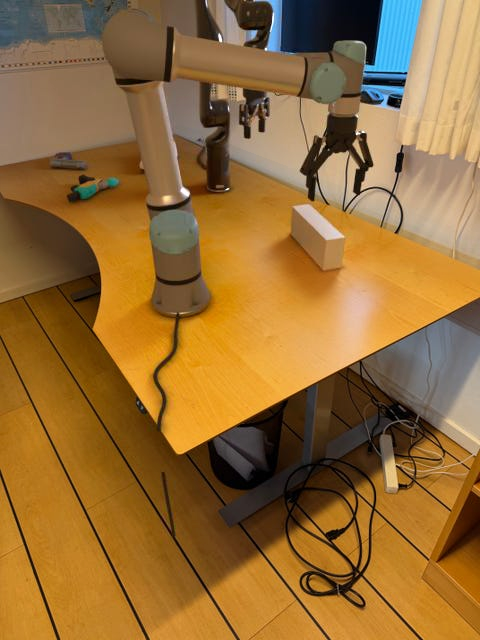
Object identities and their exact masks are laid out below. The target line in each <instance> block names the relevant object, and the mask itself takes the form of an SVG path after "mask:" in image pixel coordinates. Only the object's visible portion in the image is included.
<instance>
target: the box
mask: <svg viewBox="0 0 480 640" xmlns="http://www.w3.org/2000/svg"><path fill="white" fill-rule="evenodd" d="M290 222H291V223H290V235H291V237H293V239H294V240H295V241H297V243H298V244H299V245H300V247H302V248H303V250H304V251H305V252H306V253H307V254H308V255H309V257H310V258H311V259H312V260H313V261H314V262H315V263H316V264H317V266H319V268H320V269H321V270H322V271H331V270H335V269H341V268H342V266H343V260H344V259H343V258H344V250H345V243H346V242H345V241H346V236H345V235H343V234H342V233H341V232H340V231H339V230H338V229H337V228H336V227H335V226H334V225H332V224H331V222H329V221H328V220H327V219H326V218H325V217H324V216H323V215H322V214H320V213H319V212H318V211H317V210H316V209H315V208H314V206H312V205H311V204H310V203H308V204H300V205H292V206H291V221H290Z"/></svg>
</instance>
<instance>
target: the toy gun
mask: <svg viewBox="0 0 480 640" xmlns="http://www.w3.org/2000/svg"><path fill="white" fill-rule="evenodd" d="M48 165H49V166H50V167H53V168H58V169H76V170H86V166H87V161H85V160H79V159H73V154H72V152H71V151H60V152H57V153H55V154H54V158H51V159H50V161H49V163H48Z"/></svg>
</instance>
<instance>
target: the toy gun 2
mask: <svg viewBox="0 0 480 640" xmlns="http://www.w3.org/2000/svg"><path fill="white" fill-rule="evenodd" d="M77 179H78V183H79V185H78V184H74V185H71V186H70V188H69V189H70V191H71V192H70V193H68V194H67V195H66V198H67V200H68V202H69V203H72V202H73V201H76V200H78V199H81V200H86V199H89V198H92V197H93V196H94V195H95V194H97V193H98V192H99V191H100V190H101V191H102V190H104V189H107V188H110V189H112V188H115V187H116V186H117V185H118V184H119V183H120V180H119V179H118V178H116V177H108V178H106V180H102V179H101V178H98V177H91V176H86V175H85V174H83V173H82V174H81V175H79V176H78V178H77Z"/></svg>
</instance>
